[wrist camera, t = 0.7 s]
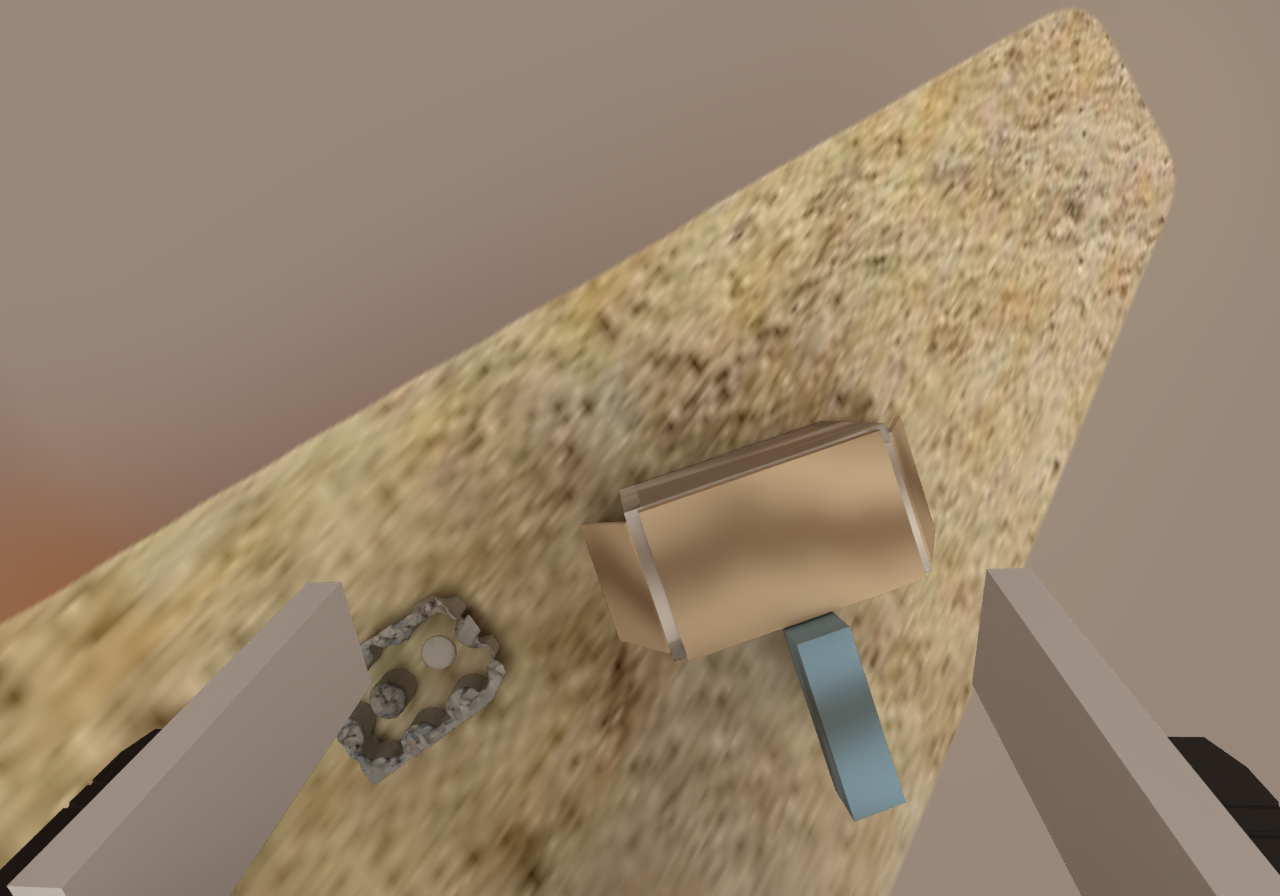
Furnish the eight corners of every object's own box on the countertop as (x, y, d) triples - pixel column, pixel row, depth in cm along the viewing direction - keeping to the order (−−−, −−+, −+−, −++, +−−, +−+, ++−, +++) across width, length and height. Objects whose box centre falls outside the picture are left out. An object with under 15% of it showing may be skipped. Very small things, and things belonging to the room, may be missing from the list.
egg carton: (452, 574, 43) (436, 591, 39) (521, 665, 44) (512, 691, 39) (317, 671, 43) (287, 698, 39) (388, 761, 43) (366, 797, 39)
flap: (970, 737, 34) (1003, 767, 31) (742, 819, 34) (754, 857, 31) (874, 429, 33) (900, 431, 30) (637, 510, 33) (640, 520, 30)
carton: (894, 522, 44) (980, 554, 34) (620, 617, 43) (624, 679, 33) (859, 408, 43) (935, 406, 33) (580, 503, 43) (573, 530, 33)
